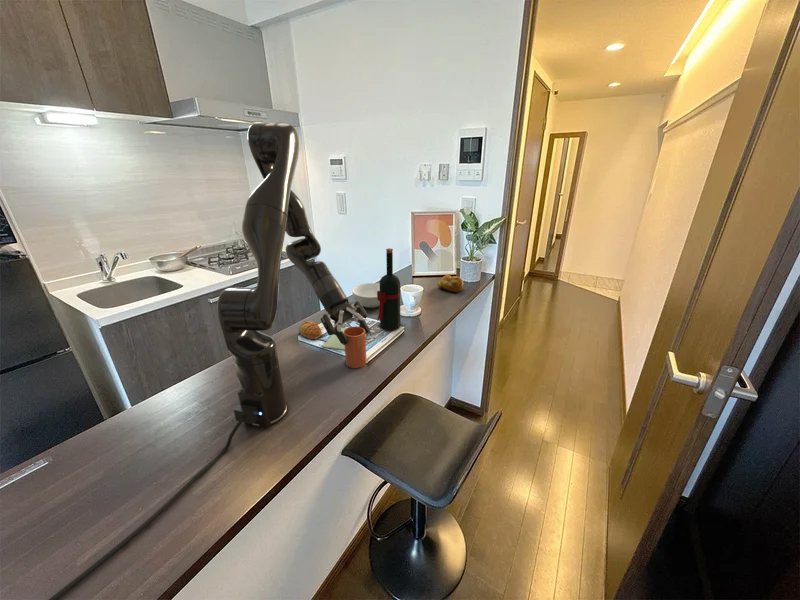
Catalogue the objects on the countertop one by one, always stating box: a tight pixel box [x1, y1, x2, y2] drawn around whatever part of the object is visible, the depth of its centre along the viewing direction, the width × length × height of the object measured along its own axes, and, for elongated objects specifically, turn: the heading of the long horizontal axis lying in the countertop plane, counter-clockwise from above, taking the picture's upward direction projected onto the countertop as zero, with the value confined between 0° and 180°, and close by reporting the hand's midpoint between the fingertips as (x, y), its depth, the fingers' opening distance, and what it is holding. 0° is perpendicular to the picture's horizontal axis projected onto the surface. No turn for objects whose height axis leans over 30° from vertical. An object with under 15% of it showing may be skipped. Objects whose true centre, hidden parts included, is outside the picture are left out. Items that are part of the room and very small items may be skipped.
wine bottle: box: [377, 247, 401, 332], centre depth 117 cm, size 8×10×30 cm
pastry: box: [298, 320, 323, 340], centre depth 117 cm, size 9×7×4 cm
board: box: [322, 327, 369, 351], centre depth 115 cm, size 14×12×1 cm
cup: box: [344, 325, 367, 369], centre depth 99 cm, size 6×6×11 cm
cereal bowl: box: [352, 282, 380, 309], centre depth 141 cm, size 17×17×7 cm
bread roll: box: [437, 274, 464, 293], centre depth 158 cm, size 13×10×8 cm
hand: (357, 338), depth 97 cm, fingers open, 8 cm apart
